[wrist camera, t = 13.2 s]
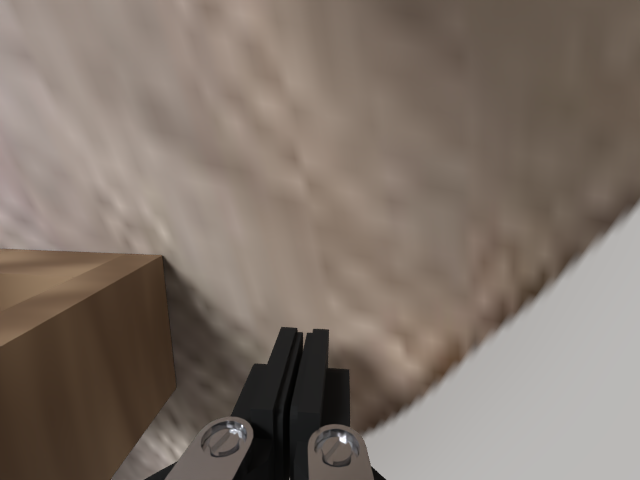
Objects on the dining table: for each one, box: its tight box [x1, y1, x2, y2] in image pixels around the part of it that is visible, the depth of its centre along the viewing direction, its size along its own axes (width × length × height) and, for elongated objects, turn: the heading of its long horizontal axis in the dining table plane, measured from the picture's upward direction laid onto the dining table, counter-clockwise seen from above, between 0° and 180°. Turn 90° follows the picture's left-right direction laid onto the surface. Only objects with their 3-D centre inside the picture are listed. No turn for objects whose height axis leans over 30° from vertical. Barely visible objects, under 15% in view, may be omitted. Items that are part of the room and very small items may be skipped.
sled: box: [0, 249, 176, 480], centre depth 11 cm, size 8×6×7 cm
